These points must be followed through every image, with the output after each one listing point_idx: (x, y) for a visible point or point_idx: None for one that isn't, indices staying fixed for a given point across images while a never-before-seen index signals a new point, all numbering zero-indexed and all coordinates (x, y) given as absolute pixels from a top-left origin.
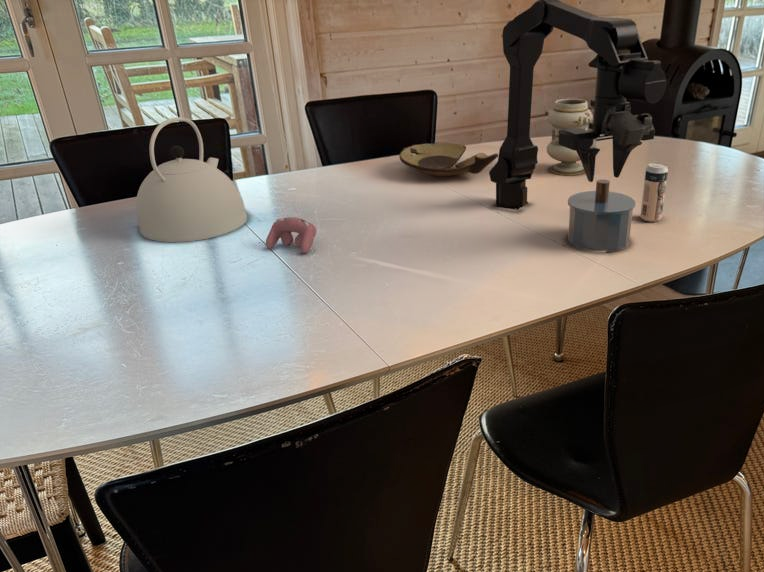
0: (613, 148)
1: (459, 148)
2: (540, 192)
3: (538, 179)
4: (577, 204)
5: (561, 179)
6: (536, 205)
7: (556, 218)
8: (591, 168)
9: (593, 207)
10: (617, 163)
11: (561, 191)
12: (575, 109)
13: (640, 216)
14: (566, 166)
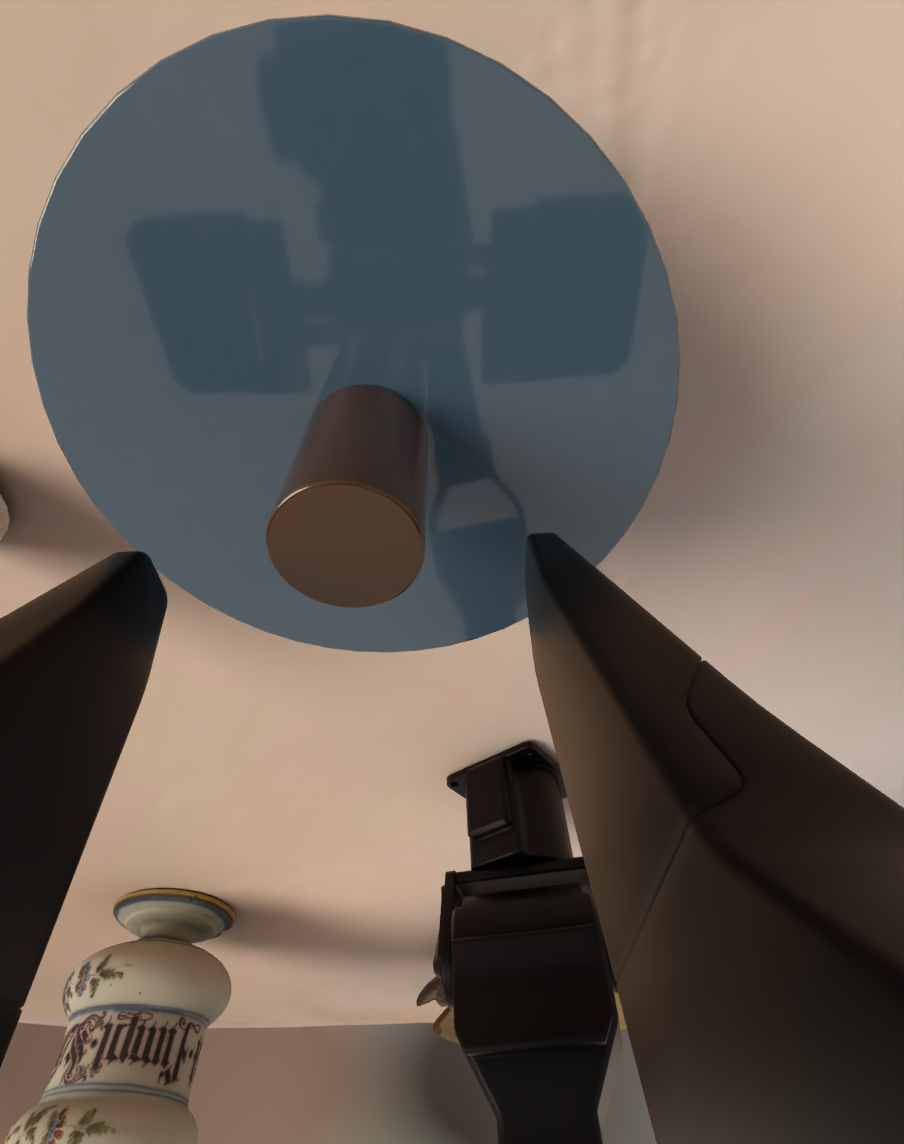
0: (7, 1013)
1: (451, 1026)
2: (347, 828)
3: (301, 889)
4: (609, 454)
5: (226, 876)
6: (423, 761)
7: (423, 652)
8: (664, 637)
9: (544, 313)
10: (58, 713)
11: (270, 818)
12: None
13: (6, 519)
14: (181, 925)
